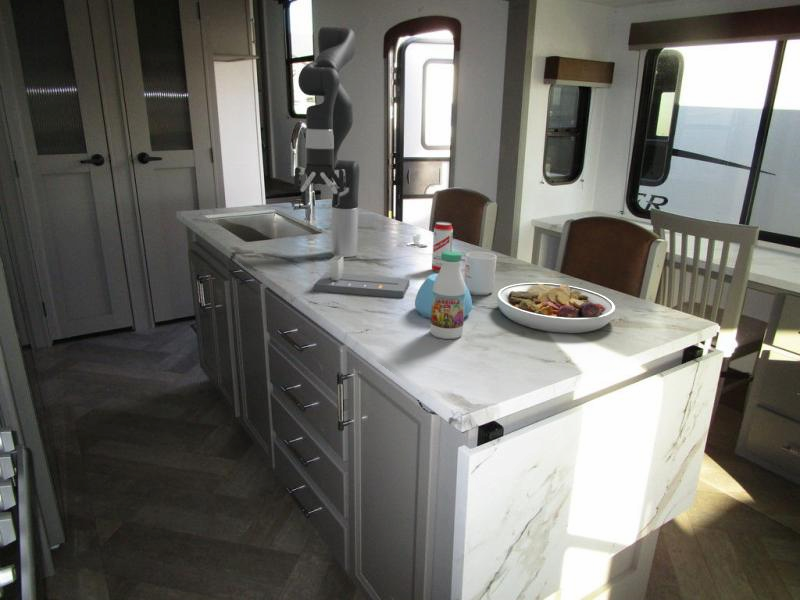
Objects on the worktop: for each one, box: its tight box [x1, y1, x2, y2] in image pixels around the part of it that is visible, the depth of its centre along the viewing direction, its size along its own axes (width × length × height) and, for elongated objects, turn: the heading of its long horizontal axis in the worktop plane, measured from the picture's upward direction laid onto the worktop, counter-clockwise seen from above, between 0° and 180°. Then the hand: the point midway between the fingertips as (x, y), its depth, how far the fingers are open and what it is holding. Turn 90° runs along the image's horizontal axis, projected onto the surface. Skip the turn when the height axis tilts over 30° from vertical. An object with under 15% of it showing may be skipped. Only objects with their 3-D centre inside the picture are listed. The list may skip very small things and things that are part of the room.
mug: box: [463, 251, 498, 296], centre depth 170 cm, size 12×9×11 cm
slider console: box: [313, 271, 411, 299], centre depth 169 cm, size 13×26×2 cm, turn 81°
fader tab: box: [329, 255, 344, 281], centre depth 169 cm, size 6×2×6 cm, turn 171°
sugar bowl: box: [414, 273, 473, 320], centre depth 149 cm, size 15×15×12 cm
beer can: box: [431, 221, 454, 273], centre depth 189 cm, size 6×6×16 cm
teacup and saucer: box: [406, 234, 428, 248], centre depth 226 cm, size 9×8×4 cm
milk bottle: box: [429, 250, 465, 340], centre depth 134 cm, size 8×8×20 cm
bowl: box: [497, 282, 616, 334], centre depth 151 cm, size 30×30×8 cm
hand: (320, 205), depth 160 cm, fingers open, 8 cm apart
